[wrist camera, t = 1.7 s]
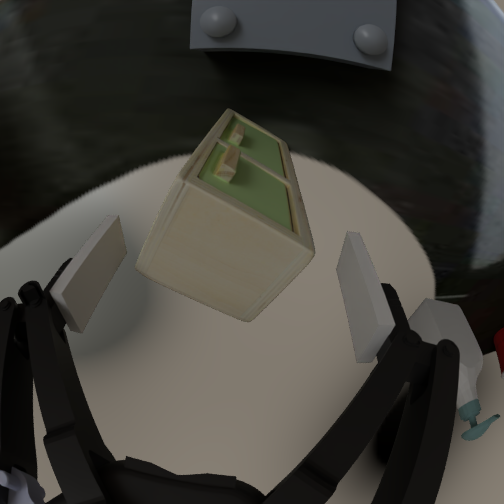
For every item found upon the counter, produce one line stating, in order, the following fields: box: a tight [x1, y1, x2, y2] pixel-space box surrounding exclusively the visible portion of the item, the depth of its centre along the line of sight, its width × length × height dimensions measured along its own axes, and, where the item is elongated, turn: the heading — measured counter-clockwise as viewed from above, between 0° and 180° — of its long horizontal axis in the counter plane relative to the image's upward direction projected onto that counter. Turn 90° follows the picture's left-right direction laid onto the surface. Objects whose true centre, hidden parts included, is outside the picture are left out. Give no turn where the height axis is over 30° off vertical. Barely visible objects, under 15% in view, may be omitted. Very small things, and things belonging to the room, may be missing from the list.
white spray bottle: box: [408, 298, 500, 441], centre depth 36 cm, size 11×8×27 cm
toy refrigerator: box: [135, 109, 315, 322], centre depth 23 cm, size 8×7×21 cm
